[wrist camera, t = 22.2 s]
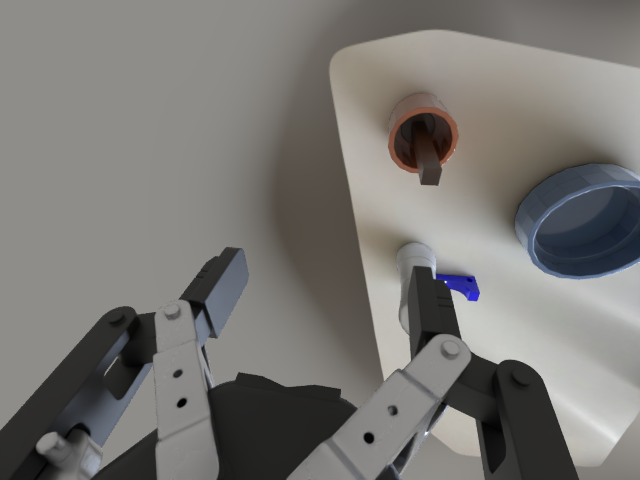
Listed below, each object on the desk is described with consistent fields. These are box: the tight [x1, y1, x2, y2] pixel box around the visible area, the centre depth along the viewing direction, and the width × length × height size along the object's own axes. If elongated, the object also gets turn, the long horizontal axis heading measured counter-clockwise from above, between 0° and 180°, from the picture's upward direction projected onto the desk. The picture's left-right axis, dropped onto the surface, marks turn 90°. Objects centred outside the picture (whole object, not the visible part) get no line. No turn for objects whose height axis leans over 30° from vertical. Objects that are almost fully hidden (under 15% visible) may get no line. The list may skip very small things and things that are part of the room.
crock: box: [388, 93, 458, 173], centre depth 39 cm, size 8×8×8 cm
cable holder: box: [436, 274, 480, 301], centre depth 55 cm, size 8×4×4 cm, turn 94°
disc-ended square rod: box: [401, 113, 442, 186], centre depth 35 cm, size 4×4×17 cm
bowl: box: [515, 163, 640, 280], centre depth 42 cm, size 15×15×6 cm
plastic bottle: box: [396, 243, 436, 341], centre depth 46 cm, size 6×7×20 cm
